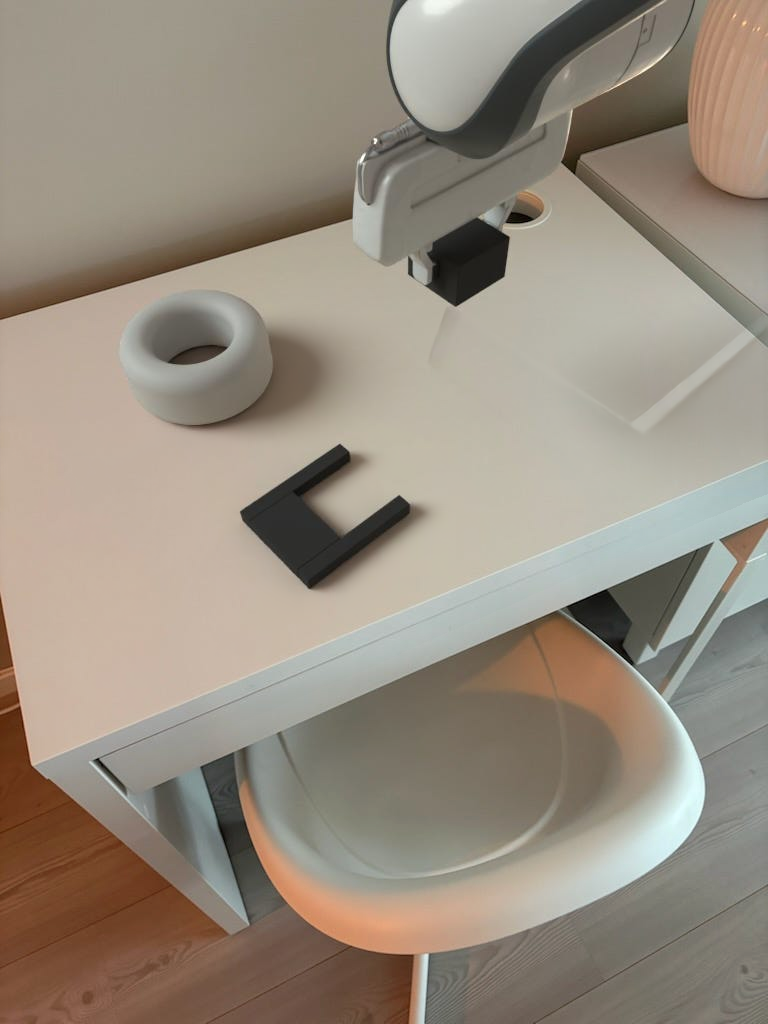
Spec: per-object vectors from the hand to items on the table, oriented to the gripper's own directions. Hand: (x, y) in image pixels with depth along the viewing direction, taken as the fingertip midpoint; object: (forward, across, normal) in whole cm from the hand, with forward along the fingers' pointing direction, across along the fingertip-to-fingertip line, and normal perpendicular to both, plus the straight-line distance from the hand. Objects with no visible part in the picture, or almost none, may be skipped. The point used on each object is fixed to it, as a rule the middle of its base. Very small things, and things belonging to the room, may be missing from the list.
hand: (457, 260), depth 64 cm
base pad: (+17, -19, -3) cm, 25 cm away
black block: (+2, 0, 0) cm, 2 cm away
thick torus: (+17, -17, +20) cm, 31 cm away
